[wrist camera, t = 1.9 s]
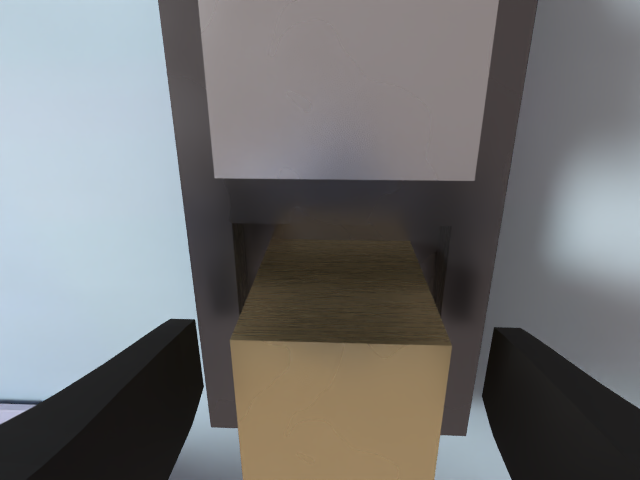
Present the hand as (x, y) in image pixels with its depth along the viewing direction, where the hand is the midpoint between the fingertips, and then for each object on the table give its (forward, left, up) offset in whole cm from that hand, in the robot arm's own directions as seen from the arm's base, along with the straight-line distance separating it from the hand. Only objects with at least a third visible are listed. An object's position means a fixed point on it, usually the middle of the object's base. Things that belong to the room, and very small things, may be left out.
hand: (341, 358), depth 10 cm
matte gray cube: (+7, 0, -3) cm, 7 cm away
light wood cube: (0, 0, -3) cm, 3 cm away
